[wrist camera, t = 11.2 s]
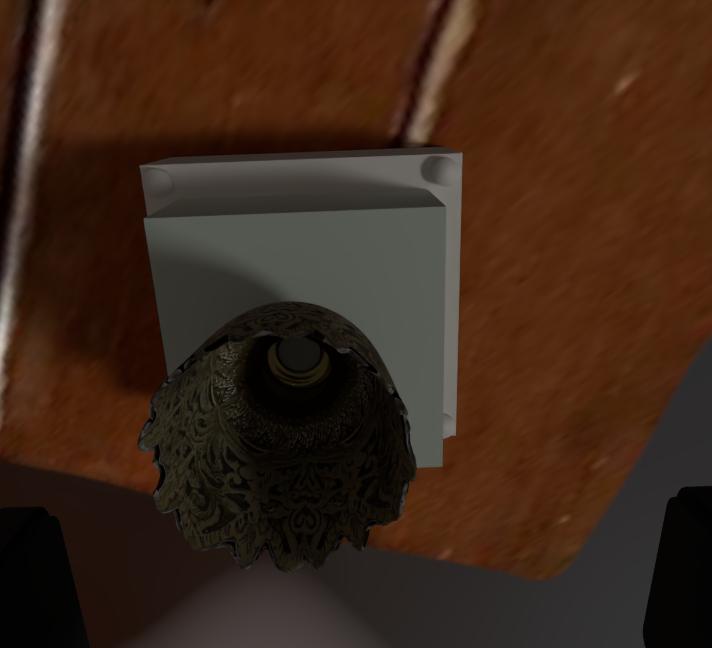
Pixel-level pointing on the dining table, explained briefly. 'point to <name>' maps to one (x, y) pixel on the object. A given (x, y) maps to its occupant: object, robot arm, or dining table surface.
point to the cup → (280, 440)
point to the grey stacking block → (319, 258)
